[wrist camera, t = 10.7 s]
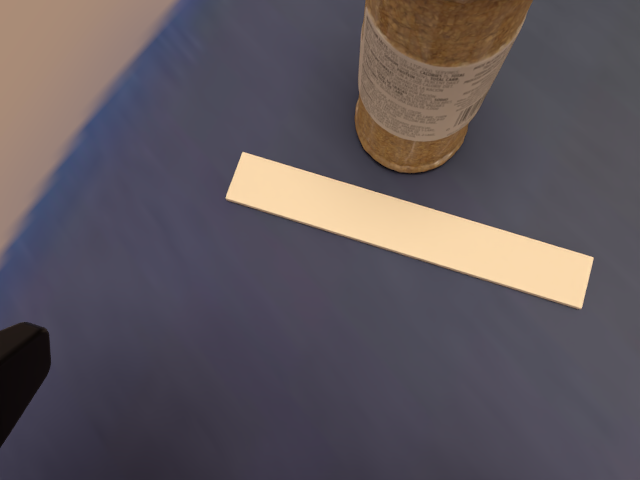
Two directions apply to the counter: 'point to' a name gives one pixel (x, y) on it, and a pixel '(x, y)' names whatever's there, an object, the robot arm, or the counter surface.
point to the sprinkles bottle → (428, 74)
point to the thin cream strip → (412, 230)
